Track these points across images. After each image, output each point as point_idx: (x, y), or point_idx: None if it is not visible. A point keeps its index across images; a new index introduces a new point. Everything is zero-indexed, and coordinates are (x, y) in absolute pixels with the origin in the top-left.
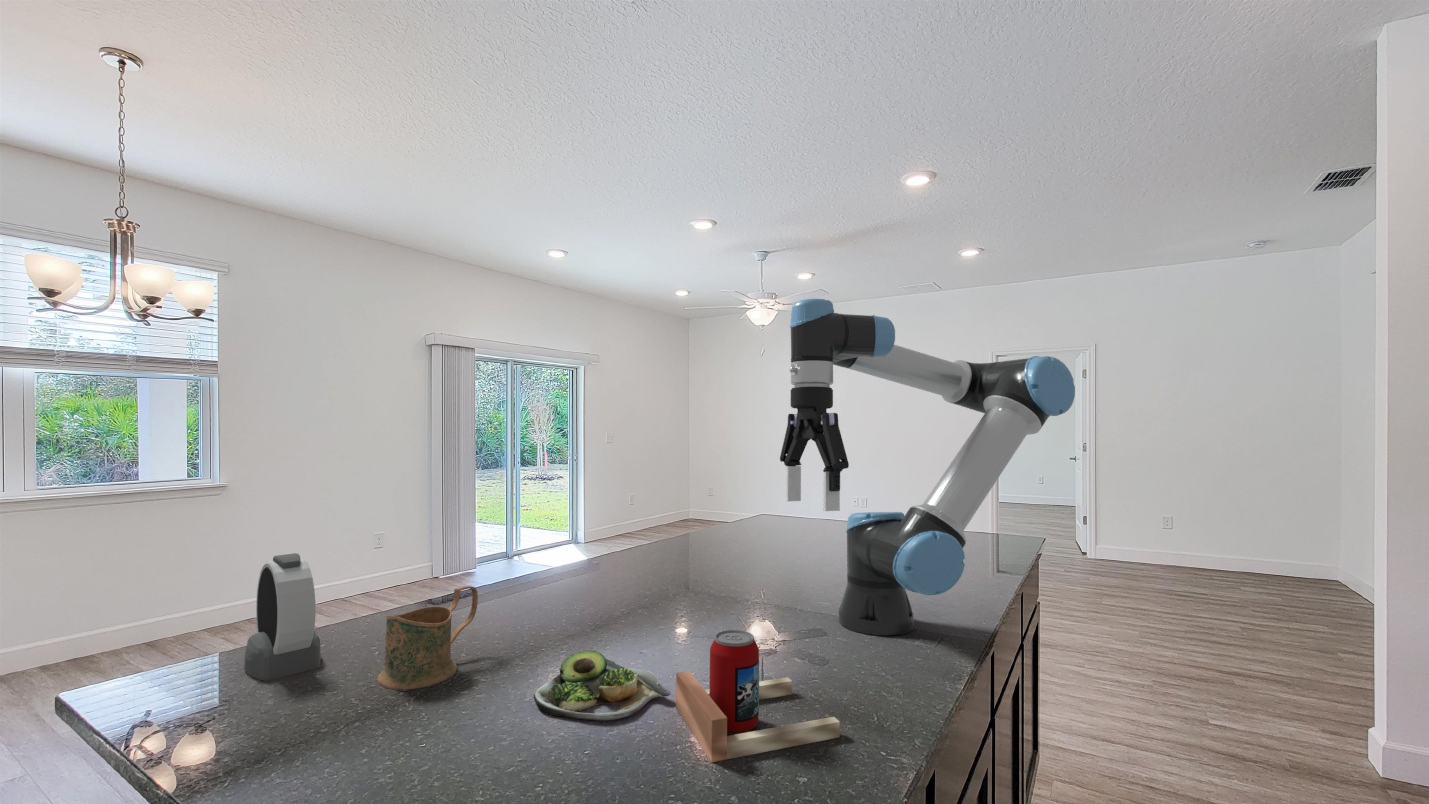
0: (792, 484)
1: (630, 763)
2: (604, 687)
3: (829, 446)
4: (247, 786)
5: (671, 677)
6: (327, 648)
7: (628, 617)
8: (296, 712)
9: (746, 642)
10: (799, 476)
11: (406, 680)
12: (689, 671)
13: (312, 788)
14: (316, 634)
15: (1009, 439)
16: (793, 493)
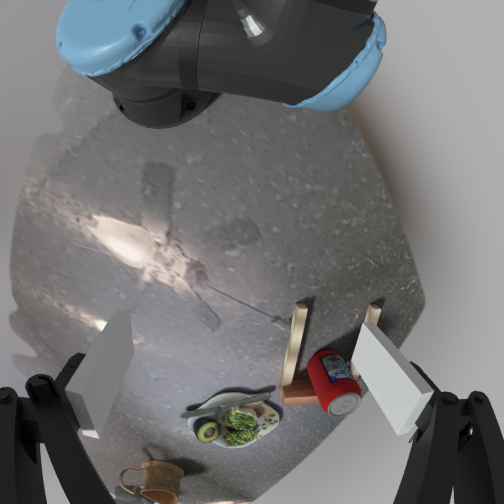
0: (116, 374)
1: (325, 414)
2: (252, 428)
3: (464, 483)
4: (258, 494)
5: (222, 376)
6: (116, 482)
7: (61, 353)
8: (197, 493)
9: (360, 400)
10: (99, 368)
11: (181, 477)
12: (285, 397)
13: (271, 485)
14: (133, 498)
15: None
16: (125, 350)
